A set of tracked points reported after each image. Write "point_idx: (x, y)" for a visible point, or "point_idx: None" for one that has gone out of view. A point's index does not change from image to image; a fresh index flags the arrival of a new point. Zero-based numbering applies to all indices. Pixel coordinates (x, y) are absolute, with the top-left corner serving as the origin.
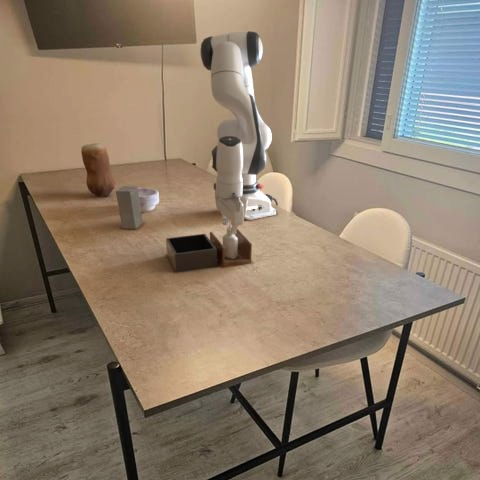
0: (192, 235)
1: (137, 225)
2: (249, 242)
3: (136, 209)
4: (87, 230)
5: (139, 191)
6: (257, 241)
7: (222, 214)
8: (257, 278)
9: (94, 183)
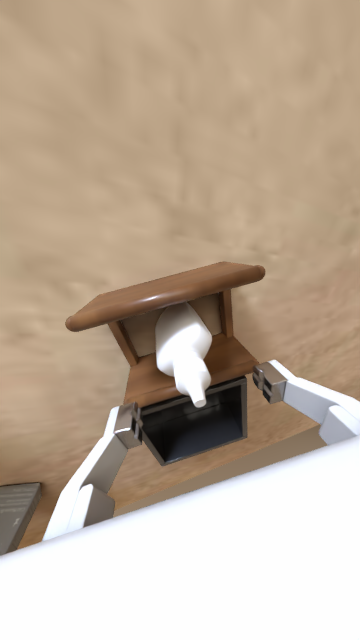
0: (143, 436)
1: (25, 491)
2: (253, 277)
3: None
4: None
5: None
6: (15, 194)
7: (112, 499)
8: (308, 257)
9: None
